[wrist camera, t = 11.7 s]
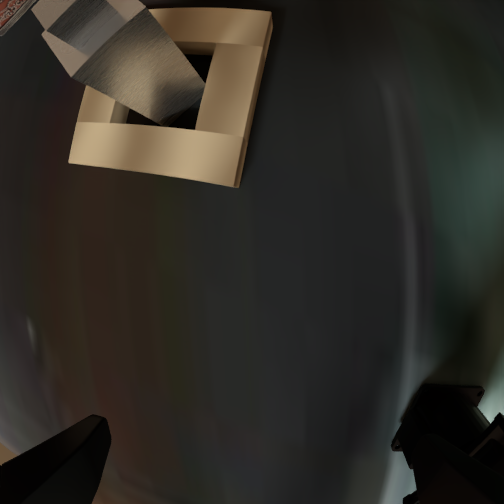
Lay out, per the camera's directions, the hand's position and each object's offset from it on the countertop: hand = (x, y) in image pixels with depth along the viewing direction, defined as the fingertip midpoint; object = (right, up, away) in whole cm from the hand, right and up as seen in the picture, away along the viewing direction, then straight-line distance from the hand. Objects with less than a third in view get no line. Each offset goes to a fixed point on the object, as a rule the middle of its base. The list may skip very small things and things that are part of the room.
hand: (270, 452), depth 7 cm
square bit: (-6, +15, +11) cm, 20 cm away
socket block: (-6, +15, +11) cm, 20 cm away
